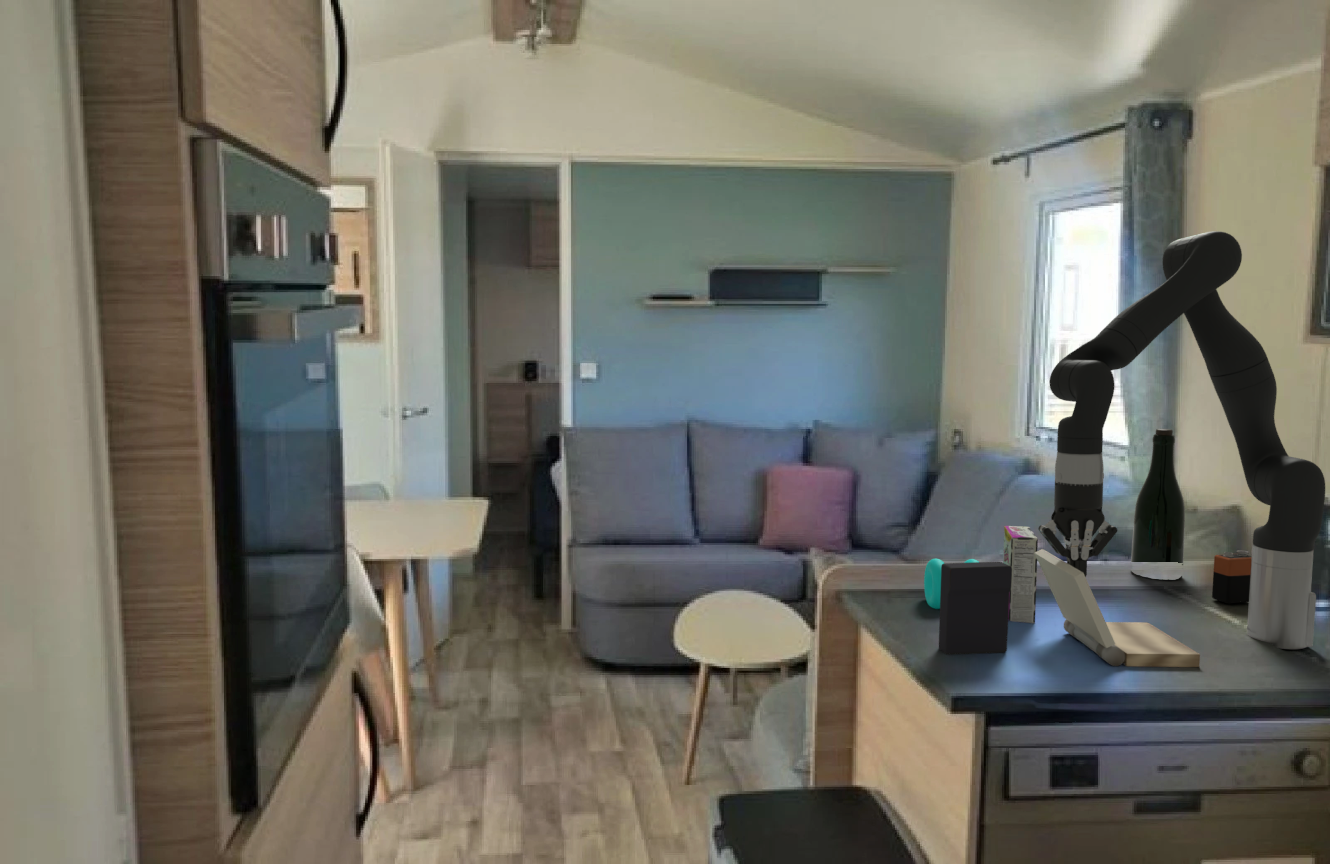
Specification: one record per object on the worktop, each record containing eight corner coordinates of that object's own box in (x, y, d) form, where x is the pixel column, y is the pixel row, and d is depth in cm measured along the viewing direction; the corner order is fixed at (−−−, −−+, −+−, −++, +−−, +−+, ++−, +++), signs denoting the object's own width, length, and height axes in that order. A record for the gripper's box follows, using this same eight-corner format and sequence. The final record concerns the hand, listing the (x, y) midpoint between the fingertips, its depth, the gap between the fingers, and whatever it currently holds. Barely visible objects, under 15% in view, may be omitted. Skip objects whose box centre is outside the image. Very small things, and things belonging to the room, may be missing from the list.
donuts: (986, 617, 190) (989, 565, 190) (933, 616, 191) (935, 564, 190) (972, 603, 200) (974, 554, 199) (921, 602, 201) (923, 553, 200)
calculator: (996, 645, 173) (999, 560, 171) (1009, 653, 169) (1012, 565, 167) (936, 648, 171) (939, 562, 169) (947, 656, 167) (950, 568, 165)
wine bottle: (1144, 582, 219) (1152, 430, 215) (1121, 570, 229) (1129, 426, 226) (1192, 582, 219) (1201, 431, 216) (1167, 570, 229) (1175, 426, 226)
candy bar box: (999, 607, 197) (1003, 524, 196) (1026, 608, 196) (1030, 526, 195) (1007, 623, 187) (1011, 536, 185) (1035, 625, 186) (1039, 537, 184)
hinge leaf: (1067, 635, 181) (1082, 628, 180) (1111, 668, 163) (1127, 661, 162) (1031, 554, 179) (1045, 547, 179) (1070, 578, 161) (1086, 571, 161)
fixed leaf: (1147, 633, 180) (1148, 617, 180) (1199, 666, 162) (1200, 648, 162) (1063, 633, 180) (1064, 616, 180) (1106, 665, 163) (1107, 647, 162)
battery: (1255, 602, 203) (1258, 553, 202) (1227, 604, 201) (1230, 554, 200) (1238, 596, 207) (1241, 548, 206) (1210, 598, 205) (1213, 550, 204)
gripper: (1108, 475, 172) (1106, 574, 174) (1031, 476, 172) (1029, 575, 174) (1128, 481, 165) (1125, 585, 167) (1047, 483, 165) (1045, 586, 167)
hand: (1076, 580), depth 170 cm, fingers closed
